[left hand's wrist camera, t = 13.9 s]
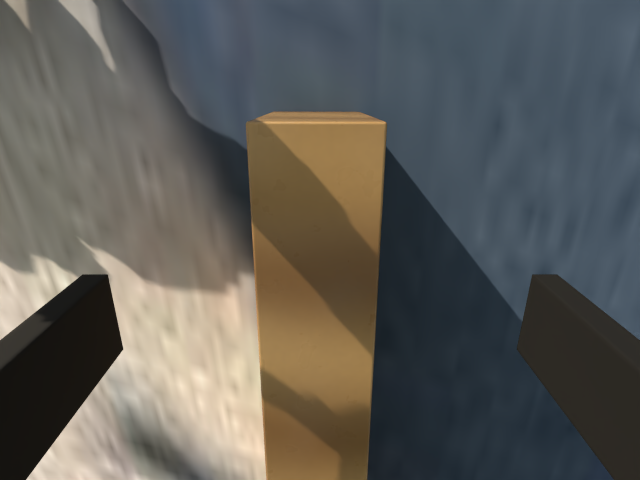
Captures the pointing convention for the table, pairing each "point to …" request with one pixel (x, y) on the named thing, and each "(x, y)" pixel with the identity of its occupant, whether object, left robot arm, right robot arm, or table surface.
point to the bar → (316, 286)
